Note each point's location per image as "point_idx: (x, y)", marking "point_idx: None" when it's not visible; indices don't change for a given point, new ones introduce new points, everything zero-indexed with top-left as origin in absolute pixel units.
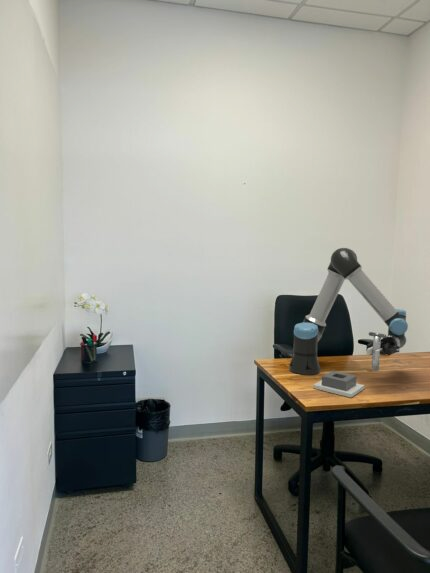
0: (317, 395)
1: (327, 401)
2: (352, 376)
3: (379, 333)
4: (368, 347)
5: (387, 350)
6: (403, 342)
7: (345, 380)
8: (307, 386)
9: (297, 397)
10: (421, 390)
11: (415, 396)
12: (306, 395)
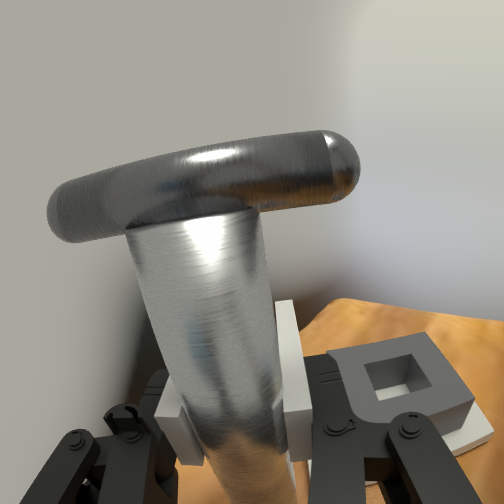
0: (377, 337)
1: (329, 330)
2: (356, 412)
3: (145, 159)
4: (379, 426)
5: (100, 445)
6: None
7: (338, 357)
8: (453, 354)
9: (390, 305)
10: None
11: None
12: (391, 321)
